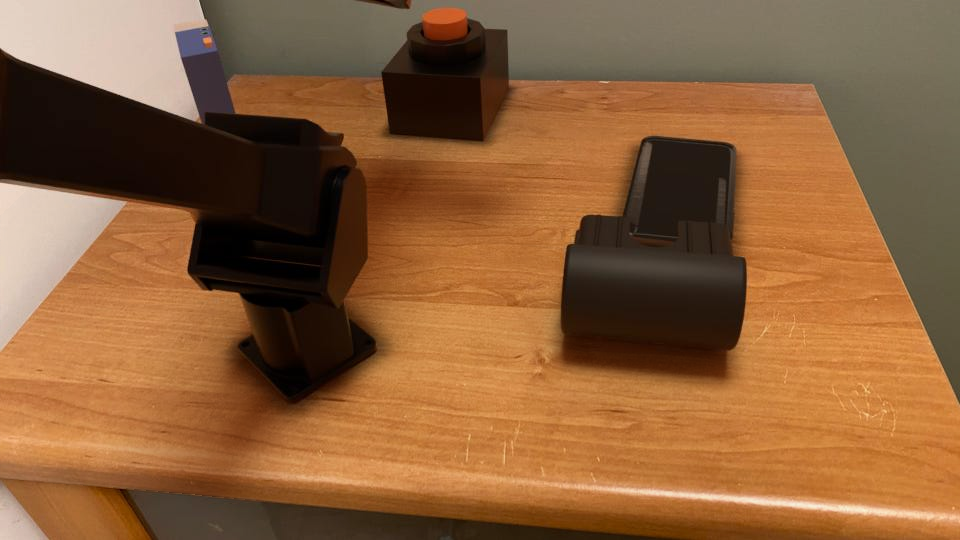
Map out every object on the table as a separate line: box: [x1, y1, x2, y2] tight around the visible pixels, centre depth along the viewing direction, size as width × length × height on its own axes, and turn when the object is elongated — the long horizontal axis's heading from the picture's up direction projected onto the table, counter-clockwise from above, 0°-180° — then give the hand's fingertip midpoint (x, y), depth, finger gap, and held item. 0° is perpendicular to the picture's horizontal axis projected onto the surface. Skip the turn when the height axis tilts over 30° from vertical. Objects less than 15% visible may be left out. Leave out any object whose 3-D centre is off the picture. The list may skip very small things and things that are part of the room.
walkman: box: [172, 19, 237, 125], centre depth 61 cm, size 8×3×12 cm, turn 23°
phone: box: [622, 135, 738, 247], centre depth 57 cm, size 8×1×15 cm
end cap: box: [559, 214, 748, 352], centre depth 44 cm, size 10×7×7 cm
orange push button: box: [421, 7, 468, 40], centre depth 66 cm, size 4×4×2 cm
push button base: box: [380, 17, 510, 142], centre depth 68 cm, size 11×9×8 cm
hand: (406, 2), depth 56 cm, fingers closed
